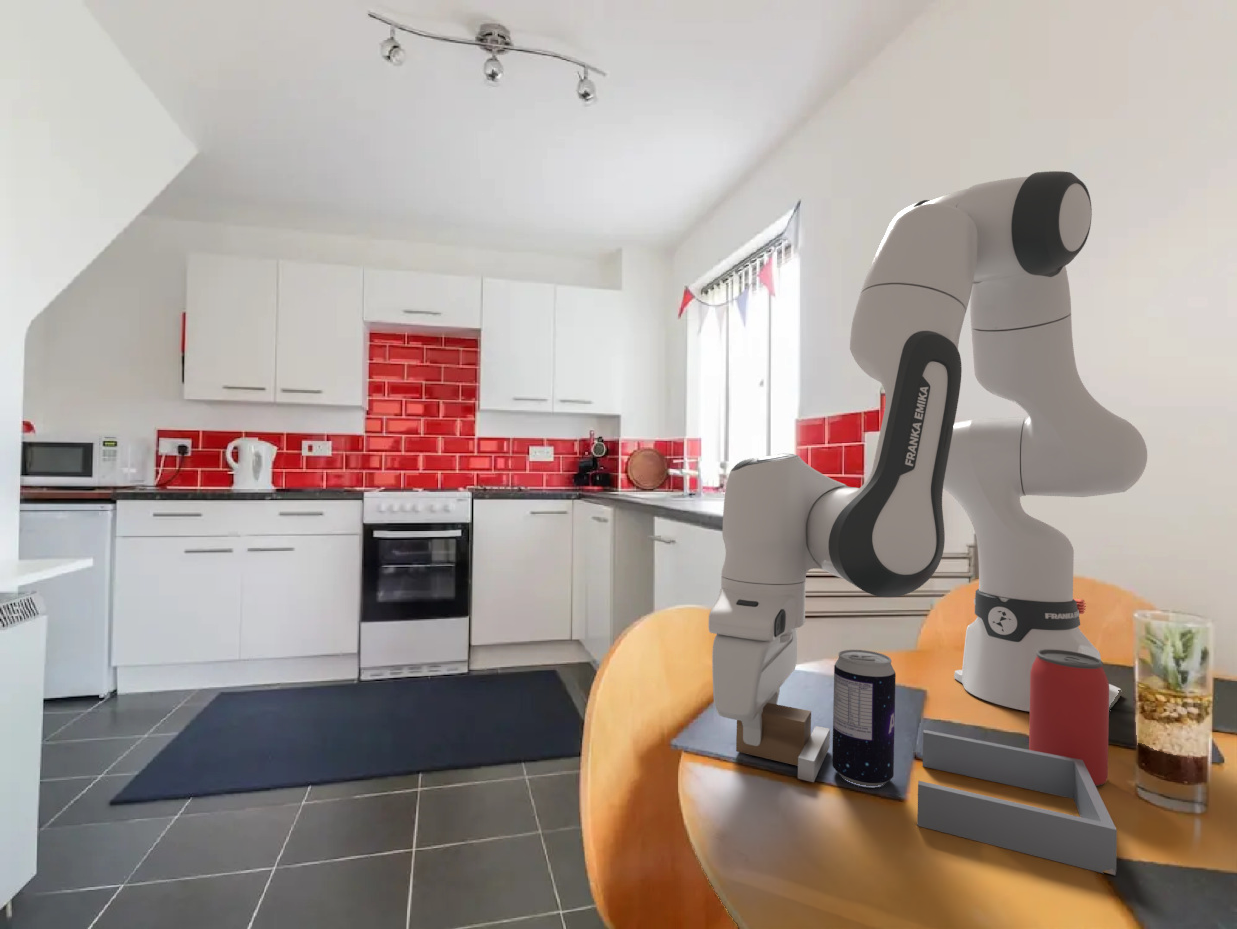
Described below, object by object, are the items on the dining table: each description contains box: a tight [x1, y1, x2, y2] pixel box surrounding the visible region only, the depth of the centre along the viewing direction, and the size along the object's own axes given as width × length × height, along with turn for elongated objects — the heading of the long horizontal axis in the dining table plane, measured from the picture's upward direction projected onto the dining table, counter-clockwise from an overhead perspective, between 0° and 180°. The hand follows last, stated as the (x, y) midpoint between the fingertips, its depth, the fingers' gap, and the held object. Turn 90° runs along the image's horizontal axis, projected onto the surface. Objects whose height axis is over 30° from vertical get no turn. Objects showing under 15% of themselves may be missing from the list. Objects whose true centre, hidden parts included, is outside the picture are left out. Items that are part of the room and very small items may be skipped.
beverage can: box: [831, 649, 897, 786], centre depth 62 cm, size 6×6×12 cm
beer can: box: [1028, 649, 1110, 787], centre depth 64 cm, size 7×7×12 cm
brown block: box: [735, 703, 831, 783], centre depth 66 cm, size 9×8×4 cm
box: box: [916, 729, 1118, 874], centre depth 57 cm, size 14×14×4 cm
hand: (759, 734), depth 67 cm, fingers closed on brown block, 3 cm apart
